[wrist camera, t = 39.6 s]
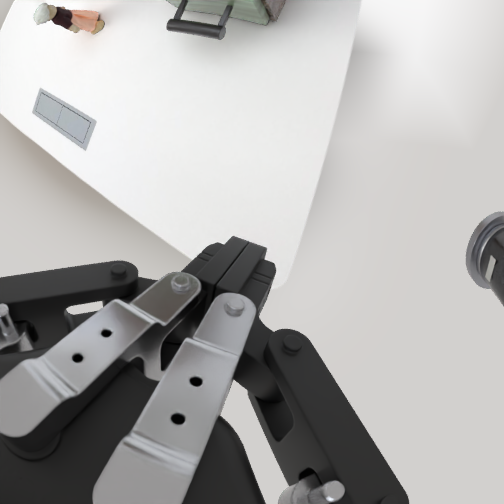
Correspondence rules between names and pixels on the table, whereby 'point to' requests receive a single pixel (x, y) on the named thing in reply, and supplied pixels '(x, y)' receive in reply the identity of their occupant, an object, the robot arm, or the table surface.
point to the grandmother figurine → (69, 18)
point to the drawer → (221, 3)
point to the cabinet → (273, 8)
